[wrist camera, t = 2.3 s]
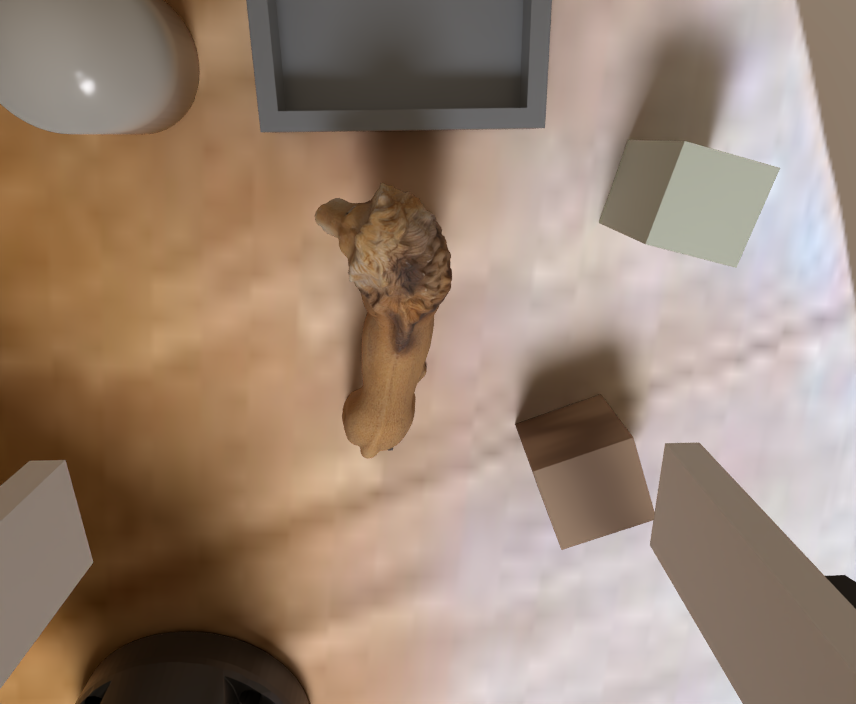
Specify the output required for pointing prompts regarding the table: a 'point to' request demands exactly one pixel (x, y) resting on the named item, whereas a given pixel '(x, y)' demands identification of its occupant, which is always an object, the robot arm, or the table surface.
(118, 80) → the pale grey rounded cylinder
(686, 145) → the sage block
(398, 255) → the lion figurine
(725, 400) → the table surface
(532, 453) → the walnut block
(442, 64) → the slate tray
